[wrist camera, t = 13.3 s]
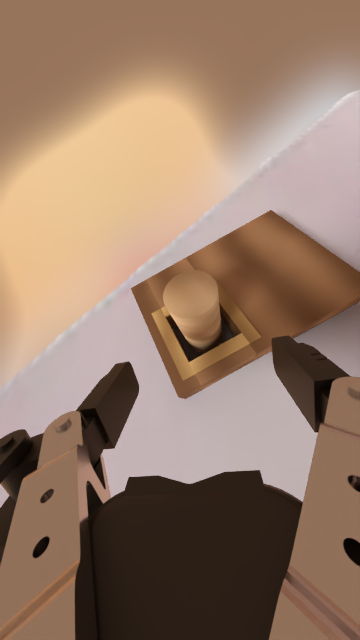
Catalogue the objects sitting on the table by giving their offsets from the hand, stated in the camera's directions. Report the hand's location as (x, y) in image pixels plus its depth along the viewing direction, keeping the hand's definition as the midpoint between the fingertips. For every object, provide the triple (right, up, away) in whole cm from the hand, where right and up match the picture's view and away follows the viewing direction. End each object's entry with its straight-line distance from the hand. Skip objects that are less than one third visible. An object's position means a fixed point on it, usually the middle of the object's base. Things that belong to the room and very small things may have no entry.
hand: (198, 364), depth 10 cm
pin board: (+5, +5, +12) cm, 14 cm away
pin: (+2, +1, +11) cm, 11 cm away
